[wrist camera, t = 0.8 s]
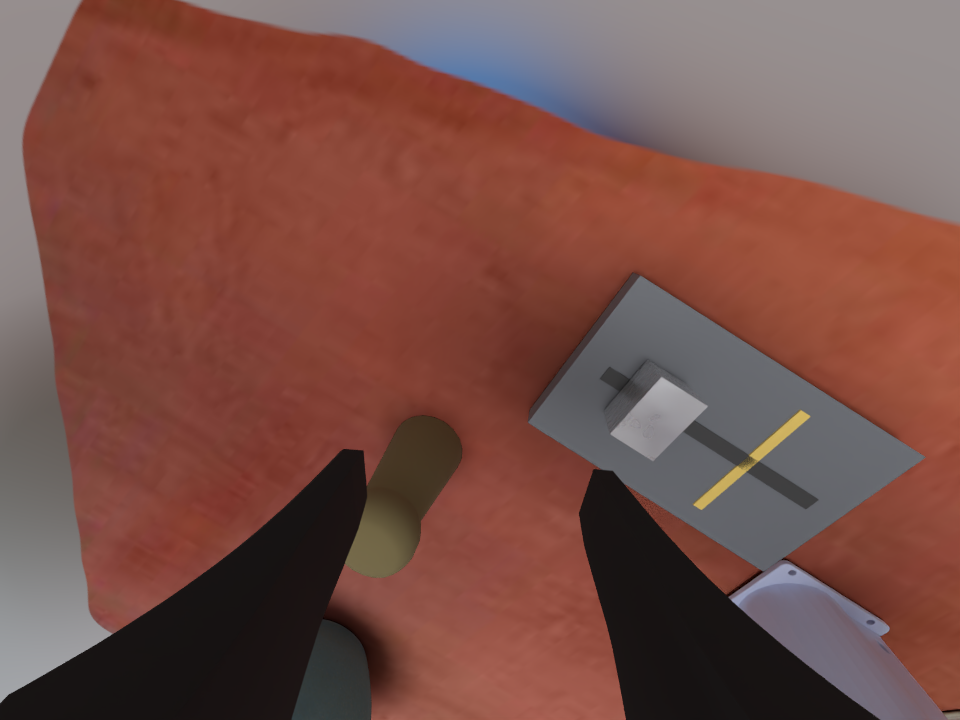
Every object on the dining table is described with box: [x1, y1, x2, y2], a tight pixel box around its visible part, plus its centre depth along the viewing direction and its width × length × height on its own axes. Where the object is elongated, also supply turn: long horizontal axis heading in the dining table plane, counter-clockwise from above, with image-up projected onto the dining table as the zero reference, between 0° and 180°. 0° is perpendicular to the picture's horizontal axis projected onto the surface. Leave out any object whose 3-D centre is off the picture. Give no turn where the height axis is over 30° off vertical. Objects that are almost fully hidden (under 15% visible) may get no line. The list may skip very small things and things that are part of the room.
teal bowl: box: [292, 619, 371, 720], centre depth 36 cm, size 18×18×12 cm
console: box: [528, 273, 926, 572], centre depth 24 cm, size 20×12×2 cm, turn 60°
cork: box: [345, 415, 462, 578], centre depth 25 cm, size 6×6×11 cm
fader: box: [603, 360, 708, 461], centre depth 21 cm, size 3×4×3 cm
